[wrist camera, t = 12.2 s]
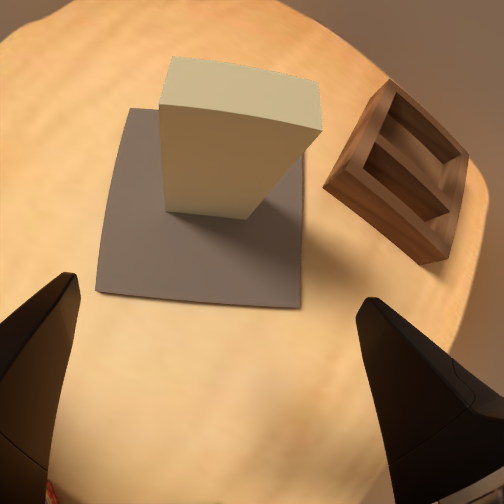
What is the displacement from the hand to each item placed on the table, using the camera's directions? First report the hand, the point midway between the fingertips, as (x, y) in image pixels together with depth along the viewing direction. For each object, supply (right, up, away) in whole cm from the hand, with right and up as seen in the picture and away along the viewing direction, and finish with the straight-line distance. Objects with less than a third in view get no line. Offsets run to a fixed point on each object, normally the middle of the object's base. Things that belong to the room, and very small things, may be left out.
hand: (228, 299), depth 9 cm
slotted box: (+15, +9, +20) cm, 27 cm away
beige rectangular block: (-3, +5, +14) cm, 15 cm away
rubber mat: (-3, +5, +14) cm, 16 cm away
